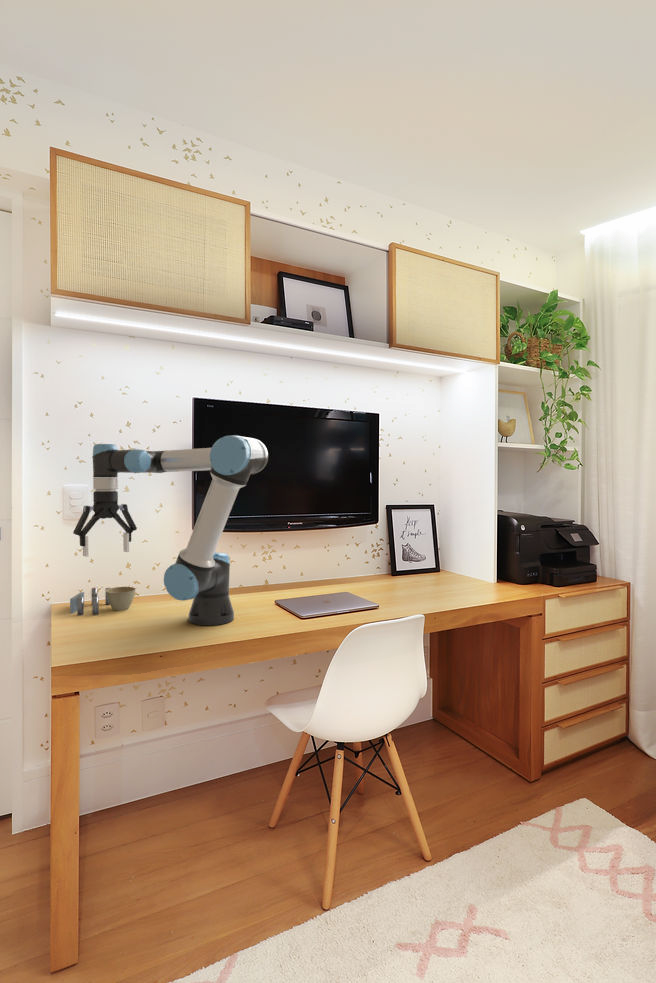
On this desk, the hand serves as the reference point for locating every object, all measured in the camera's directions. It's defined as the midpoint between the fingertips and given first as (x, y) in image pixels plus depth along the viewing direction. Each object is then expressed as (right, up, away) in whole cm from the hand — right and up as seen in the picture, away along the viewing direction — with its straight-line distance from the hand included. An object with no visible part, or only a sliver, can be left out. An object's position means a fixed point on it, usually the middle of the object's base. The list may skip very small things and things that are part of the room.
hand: (106, 553), depth 176 cm
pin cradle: (-11, -21, +13) cm, 28 cm away
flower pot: (-1, -22, +14) cm, 26 cm away
